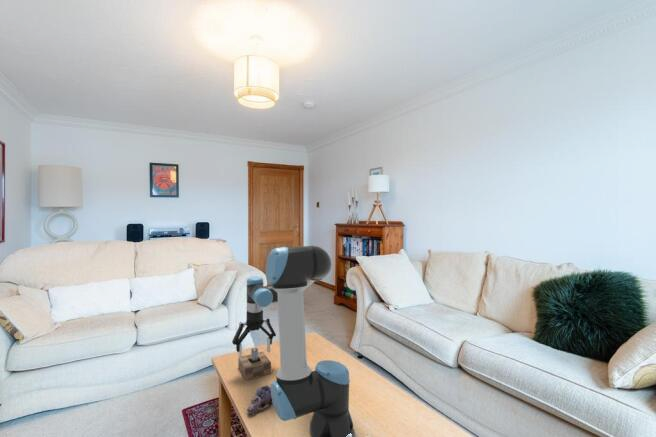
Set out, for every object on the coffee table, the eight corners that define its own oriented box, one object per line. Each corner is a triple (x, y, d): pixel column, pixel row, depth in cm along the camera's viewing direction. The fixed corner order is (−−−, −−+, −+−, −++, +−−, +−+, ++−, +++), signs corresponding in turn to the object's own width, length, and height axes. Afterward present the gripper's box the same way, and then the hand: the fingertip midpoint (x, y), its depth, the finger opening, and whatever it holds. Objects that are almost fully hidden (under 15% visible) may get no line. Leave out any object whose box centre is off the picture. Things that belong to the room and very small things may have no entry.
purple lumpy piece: (253, 419, 111) (253, 403, 111) (239, 410, 116) (239, 395, 115) (277, 402, 121) (277, 387, 121) (263, 395, 125) (264, 380, 125)
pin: (258, 370, 143) (258, 350, 143) (252, 372, 142) (252, 351, 142) (256, 367, 146) (256, 347, 146) (250, 369, 145) (250, 348, 144)
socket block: (270, 372, 142) (271, 362, 142) (245, 380, 136) (245, 369, 136) (262, 361, 152) (262, 351, 152) (238, 367, 146) (238, 357, 146)
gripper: (277, 303, 152) (276, 345, 153) (225, 312, 140) (225, 357, 141) (282, 308, 146) (282, 351, 147) (229, 317, 133) (229, 364, 134)
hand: (254, 354), depth 144 cm, fingers open, 13 cm apart
